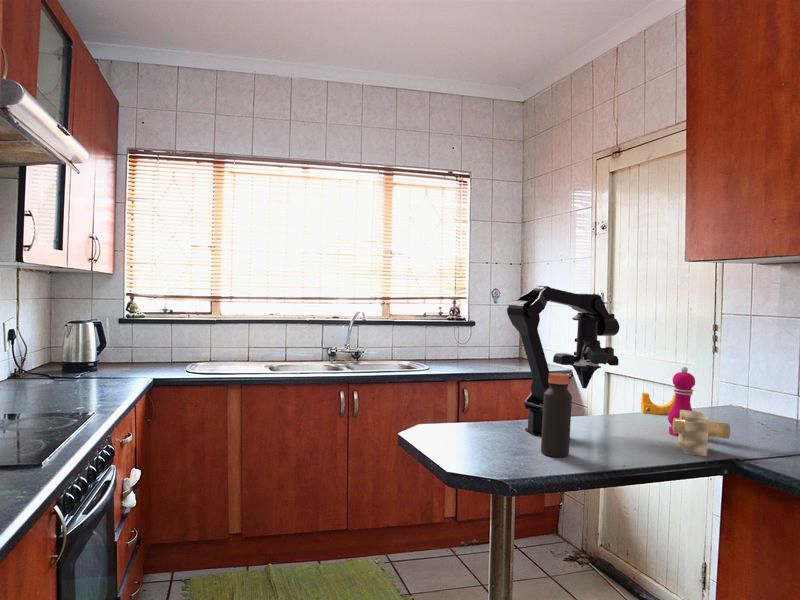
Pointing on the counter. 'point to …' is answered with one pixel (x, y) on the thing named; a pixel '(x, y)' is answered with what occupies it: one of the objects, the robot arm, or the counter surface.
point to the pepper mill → (681, 395)
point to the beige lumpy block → (694, 433)
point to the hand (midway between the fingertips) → (584, 388)
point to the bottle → (556, 416)
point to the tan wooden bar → (714, 430)
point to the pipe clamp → (655, 408)
